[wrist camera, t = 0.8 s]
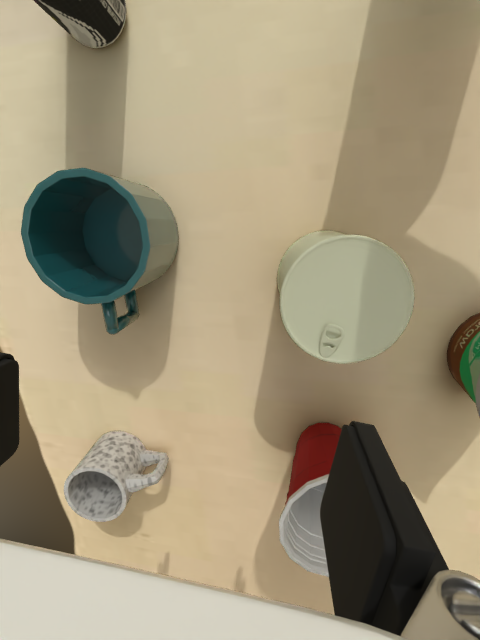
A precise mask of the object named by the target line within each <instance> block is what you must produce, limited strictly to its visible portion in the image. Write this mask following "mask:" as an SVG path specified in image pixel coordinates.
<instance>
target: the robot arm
mask: <svg viewBox="0 0 480 640" xmlns="http://www.w3.org/2000/svg"><path fill="white" fill-rule="evenodd" d="M18 445H19V365H18V362H17V361H15V360H14V357H13V356H12V355H11V354H6V353H1V352H0V466H1V465H2V464H3V463H4V462H5V461H6V460H8V459H9V458H10V457H11V456H12V455H13V454H14V452H15V451H16V450H17V448H18ZM320 521H321V527H322V534H323V541H324V547H325V554H326V560H327V567H328V573H329V580H330V586H331V593H332V599H333V606H334V612H335V615H332V614H328V613H325V612H321V611H317V610H313V609H310V608H306V607H302V606H298V605H294V604H289V603H285V602H281V601H276V600H272V599H267V598H263V597H259V596H255V595H251V594H247V593H243V592H238V591H234V590H229V589H225V588H220V587H216V586H212V585H207V584H203V583H198V582H194V581H189V580H185V579H180V578H176V577H172V576H167V575H163V574H158V573H154V572H149V571H145V570H140V569H136V568H132V567H127V566H123V565H118V564H114V563H109V562H105V561H100V560H95V559H91V558H86V557H82V556H77V555H73V554H68V553H63V552H58V551H54V550H50V549H45V548H41V547H36V546H31V545H26V544H22V543H18V542H13V541H8V540H4V539H0V640H480V580H478V579H477V578H475V577H473V576H471V575H468V574H466V573H463V572H461V571H455V570H449V569H448V567H447V565H446V563H445V561H444V559H443V557H442V555H441V553H440V551H439V549H438V547H437V545H436V543H435V541H434V539H433V537H432V535H431V533H430V531H429V529H428V527H427V525H426V523H425V521H424V519H423V517H422V515H421V513H420V511H419V509H418V507H417V505H416V503H415V501H414V499H413V497H412V495H411V493H410V491H409V489H408V487H407V485H406V484H405V482H403V481H401V480H400V477H399V475H398V473H397V471H396V469H395V467H394V465H393V463H392V461H391V459H390V457H389V455H388V453H387V451H386V449H385V447H384V445H383V443H382V441H381V438H380V436H379V434H378V432H377V430H376V428H375V427H374V425H370V424H365V423H360V422H355V421H352V422H351V423H350V425H349V426H348V425H344V426H343V427H342V430H341V434H340V437H339V441H338V444H337V448H336V452H335V455H334V459H333V462H332V466H331V470H330V473H329V477H328V480H327V484H326V488H325V491H324V495H323V498H322V502H321V507H320Z"/></svg>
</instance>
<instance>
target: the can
mask: <svg viewBox="0 0 480 640" xmlns="http://www.w3.org/2000/svg"><path fill="white" fill-rule="evenodd" d="M277 285H278V290H279V293H280V313H281V318H282V321H283V324H284V326H285V328H286V331H287V333H288V334H289V336H290V337H291V339H292V340H293V341H294V342H295V343H296V344H297V345H298V346H299V347H300V348H301V349H302V350H303V351H305V352H306V353H308V354H309V355H311V356H313V357H315V358H317V359H320V360H322V361H326V362H330V363H337V364H348V363H357V362H361V361H365V360H368V359H370V358H373V357H375V356H377V355H379V354H380V353H382V352H383V351H385V350H386V349H388V348H389V347H390V346H391V345H392V344H394V343H395V341H396V340H397V339H398V338H399V337H400V336H401V334H402V333H403V331H404V330H405V328H406V326H407V324H408V323H409V320H410V318H411V315H412V311H413V307H414V286H413V281H412V277H411V274H410V272H409V270H408V268H407V266H406V264H405V262H404V261H403V260H402V259H401V257H400V256H399V255H398V254H397V253H396V252H395V251H394V250H393V249H391V248H390V247H389V246H387V245H386V244H384V243H382V242H380V241H378V240H376V239H373V238H370V237H366V236H361V235H346V234H344V233H341V232H337V231H329V230H324V231H317V232H313V233H310V234H307V235H305V236H303V237H301V238H300V239H298V240H297V241H296V242H294V243H293V244H292V245H291V246H290V247H289V248H288V250H287V251H286V252H285V254H284V256H283V257H282V259H281V262H280V264H279V268H278V274H277Z"/></svg>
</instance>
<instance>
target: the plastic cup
mask: <svg viewBox="0 0 480 640" xmlns="http://www.w3.org/2000/svg"><path fill="white" fill-rule="evenodd" d="M341 430H342V429H341V428H339V427H338V426H336V425H333V424H331V423H316V424H314V425H311V426H309V427H308V428H307V429H305V430H304V431H303V432H302V434H301V436H300V438H299V440H298V442H297V446H296V453H295V456H294V460H293V466H292V473H291V480H290V486H289V492H288V494H287V501H286V503H285V507H284V509H283V512H282V514H281V516H280V519H279V530H280V542H281V544H282V545H283V547H284V549H285V551H286V552H287V554H288V556H289V557H290V559H292V560H293V561H294V562H296V563H297V564H299V565H300V566H301V567H303V568H304V569H306V570H307V571H309V572H313V573H316V574H320V575H323V576H327V577H329V573H328V567H327V560H326V554H325V547H324V541H323V534H322V527H321V521H320V507H321V502H322V498H323V495H324V491H325V488H326V484H327V480H328V477H329V473H330V470H331V466H332V462H333V459H334V455H335V452H336V448H337V444H338V441H339V437H340V434H341Z"/></svg>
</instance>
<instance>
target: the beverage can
mask: <svg viewBox="0 0 480 640" xmlns="http://www.w3.org/2000/svg"><path fill="white" fill-rule="evenodd" d="M34 1H35V2H36V3H37V4H38V5H39V6H40V7H41V8H42V9H43V10H44V11H45V12H47V13H48V14H49V15H50V16H51V17H52V18H53V19H54V20H55V21H56V22H57V23H58V24H59V25H61V26H62V27H63V28H64V29H65V30H66V31H67V32H68V33H69V34H70V35H71V36H72V37H73V38H75V39H76V40H77V41H78V42H80V43H81V44H83V45H85V46H87V47H91V48H102V47H105V46H108V45H109V44H111V43H113V42H114V41H115V40H116V39H117V38H118V36H119V35H120V33H121V32H122V29H123V27H124V24H125V20H126V3H125V0H34Z"/></svg>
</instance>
